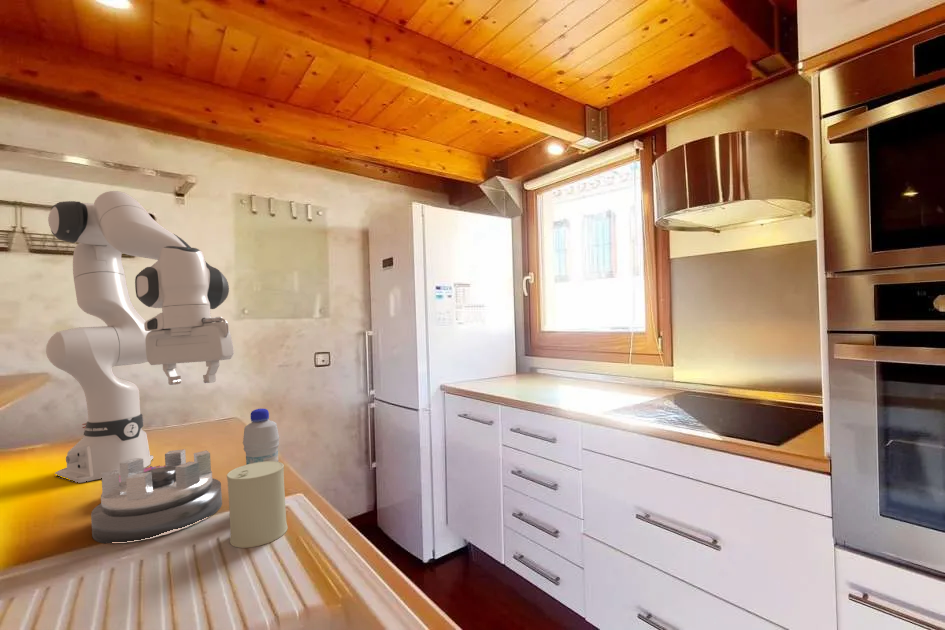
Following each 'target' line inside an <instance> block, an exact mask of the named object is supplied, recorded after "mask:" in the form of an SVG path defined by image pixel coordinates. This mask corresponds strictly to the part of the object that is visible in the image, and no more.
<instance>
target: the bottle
mask: <svg viewBox="0 0 945 630" xmlns="http://www.w3.org/2000/svg"><path fill="white" fill-rule="evenodd" d="M243 430H244V431H243V437H242V438H243V439H242V444H243V450H244V452H245V465H247V464H252V463H257V462H265V461H277V462H279V449H278V447H279V445H280V435H279V430H278V426H277V422H275V421H273V420H270V412H269V410H268V409H266V408H256V409H253V410H251V412H250V423H248V424H247V425H245V427H244V428H243Z"/></svg>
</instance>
